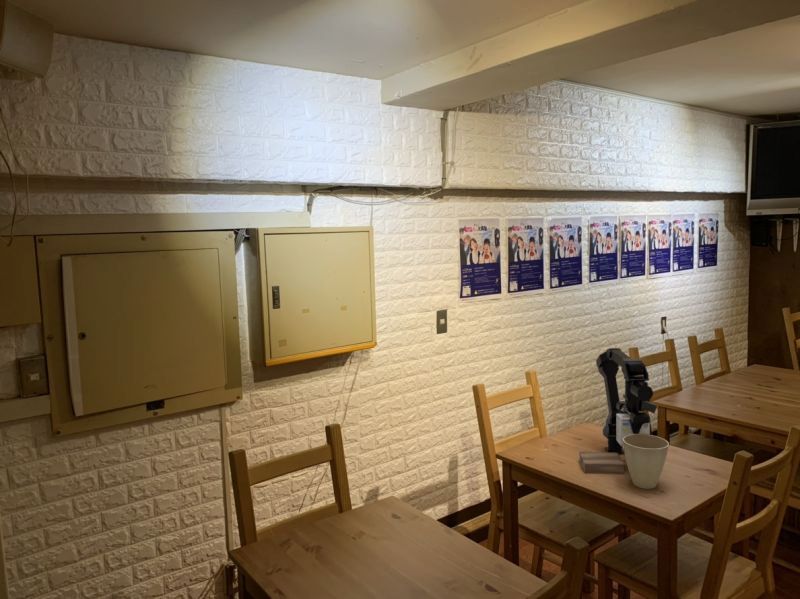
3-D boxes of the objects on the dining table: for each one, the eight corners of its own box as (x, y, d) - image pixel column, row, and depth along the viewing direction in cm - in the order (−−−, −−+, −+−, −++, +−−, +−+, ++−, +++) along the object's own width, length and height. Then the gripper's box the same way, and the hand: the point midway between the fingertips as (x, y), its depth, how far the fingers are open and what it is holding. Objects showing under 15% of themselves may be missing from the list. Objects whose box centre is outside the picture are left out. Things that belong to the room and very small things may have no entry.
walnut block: (579, 461, 236) (579, 451, 236) (616, 462, 234) (616, 452, 234) (584, 474, 224) (584, 463, 224) (624, 475, 222) (624, 464, 222)
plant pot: (638, 496, 204) (639, 450, 202) (614, 478, 218) (614, 436, 217) (677, 490, 207) (678, 446, 205) (650, 474, 221) (651, 432, 220)
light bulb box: (643, 439, 230) (644, 412, 229) (650, 446, 224) (650, 418, 222) (615, 440, 231) (615, 412, 230) (620, 446, 224) (621, 418, 223)
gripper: (665, 400, 216) (664, 442, 218) (645, 386, 234) (644, 425, 236) (634, 401, 216) (633, 443, 218) (616, 387, 234) (615, 425, 236)
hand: (632, 433), depth 227 cm, fingers closed on light bulb box, 7 cm apart
